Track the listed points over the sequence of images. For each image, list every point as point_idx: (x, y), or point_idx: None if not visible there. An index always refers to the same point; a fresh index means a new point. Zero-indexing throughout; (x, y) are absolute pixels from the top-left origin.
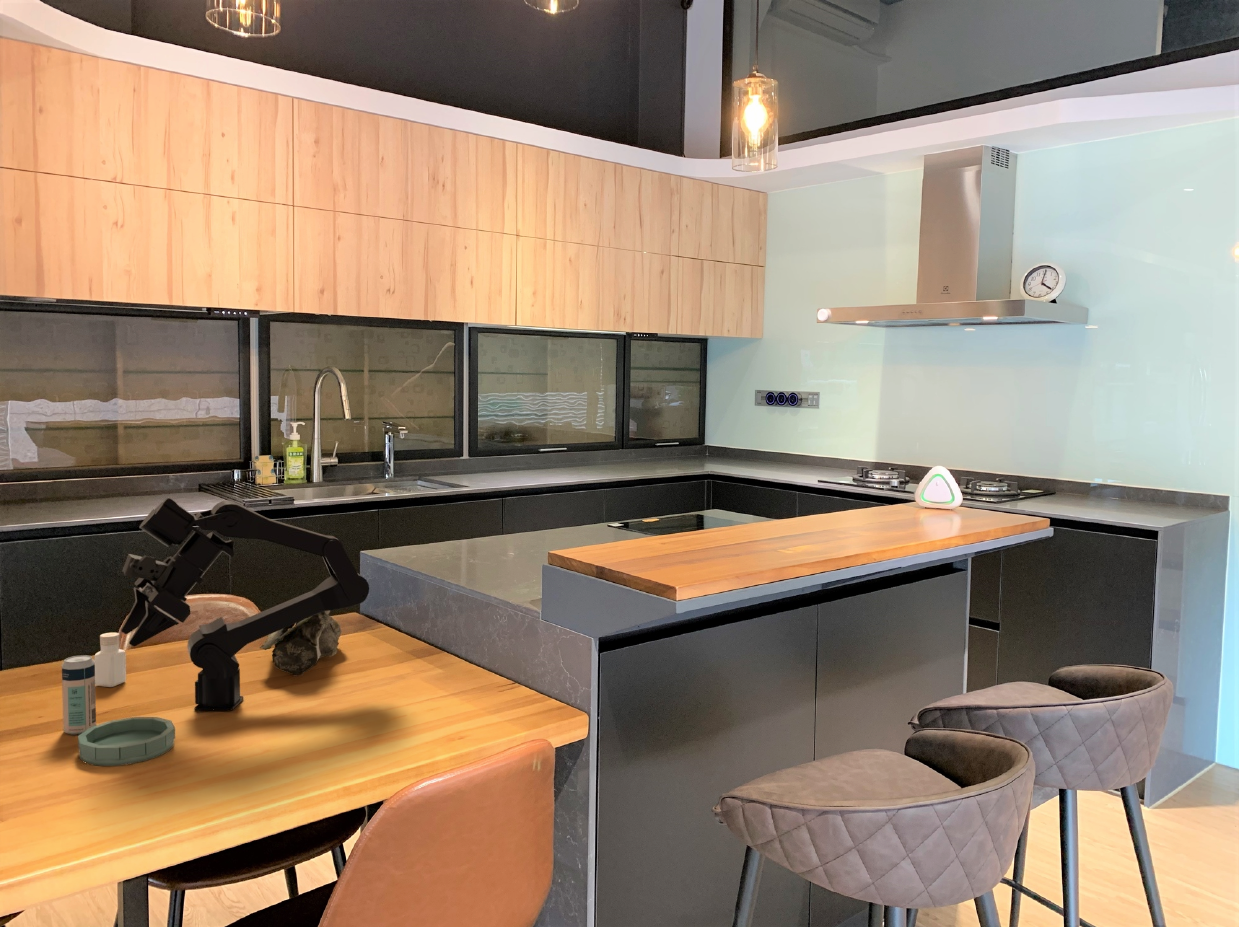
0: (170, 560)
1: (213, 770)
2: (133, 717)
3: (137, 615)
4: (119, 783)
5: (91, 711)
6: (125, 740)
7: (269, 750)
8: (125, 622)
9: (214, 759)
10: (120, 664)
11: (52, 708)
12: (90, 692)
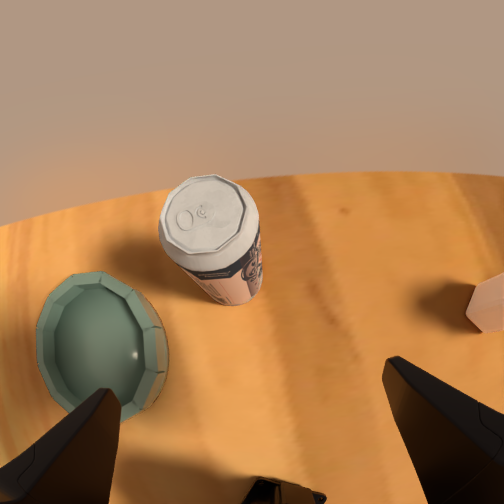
0: None
1: (16, 421)
2: (155, 371)
3: (437, 447)
4: (17, 322)
5: (205, 290)
6: (108, 348)
7: None
8: (419, 379)
9: (39, 436)
10: (499, 322)
11: (384, 226)
12: (192, 278)
